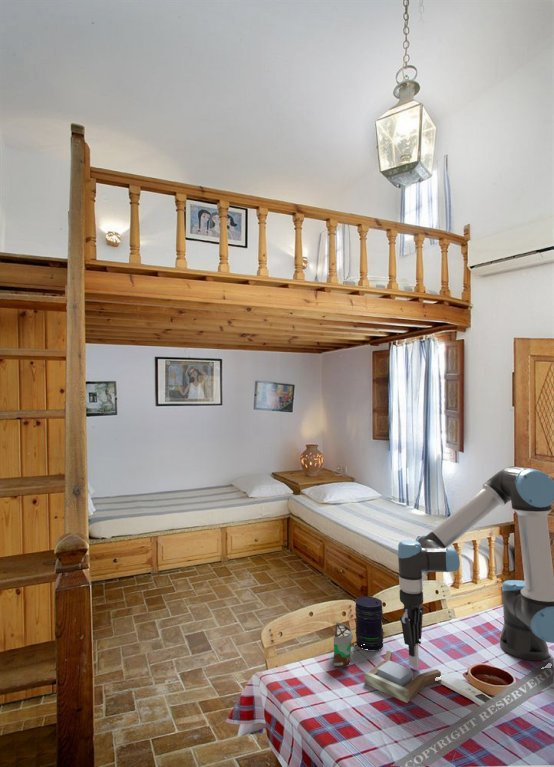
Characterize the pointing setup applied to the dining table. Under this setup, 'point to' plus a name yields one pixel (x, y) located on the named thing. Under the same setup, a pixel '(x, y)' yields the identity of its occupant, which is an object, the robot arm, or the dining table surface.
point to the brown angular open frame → (396, 690)
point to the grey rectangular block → (395, 673)
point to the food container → (342, 645)
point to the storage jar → (369, 623)
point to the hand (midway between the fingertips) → (414, 664)
